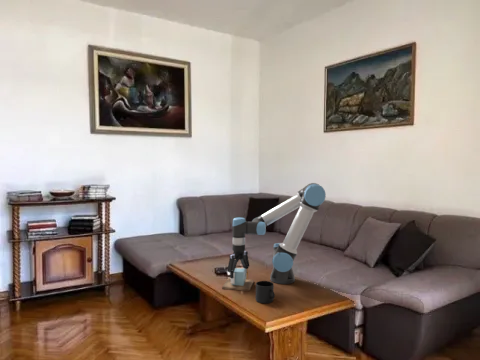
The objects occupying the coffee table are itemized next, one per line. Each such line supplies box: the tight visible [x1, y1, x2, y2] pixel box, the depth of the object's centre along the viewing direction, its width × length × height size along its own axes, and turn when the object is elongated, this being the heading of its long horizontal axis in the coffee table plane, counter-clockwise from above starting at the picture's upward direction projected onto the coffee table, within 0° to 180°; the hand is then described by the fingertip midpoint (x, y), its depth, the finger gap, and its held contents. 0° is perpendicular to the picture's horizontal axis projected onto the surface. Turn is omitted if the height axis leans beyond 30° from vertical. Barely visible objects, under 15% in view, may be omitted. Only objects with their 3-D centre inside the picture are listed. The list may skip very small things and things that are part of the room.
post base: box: [221, 277, 255, 292], centre depth 221 cm, size 16×16×7 cm
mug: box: [255, 280, 276, 304], centre depth 197 cm, size 9×12×9 cm
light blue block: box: [232, 267, 245, 286], centre depth 221 cm, size 7×7×9 cm
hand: (238, 281), depth 221 cm, fingers open, 10 cm apart
